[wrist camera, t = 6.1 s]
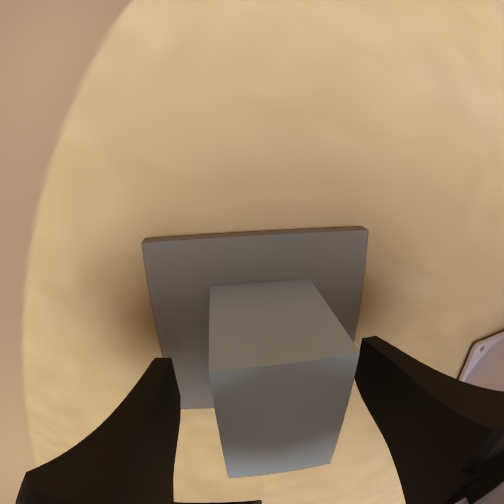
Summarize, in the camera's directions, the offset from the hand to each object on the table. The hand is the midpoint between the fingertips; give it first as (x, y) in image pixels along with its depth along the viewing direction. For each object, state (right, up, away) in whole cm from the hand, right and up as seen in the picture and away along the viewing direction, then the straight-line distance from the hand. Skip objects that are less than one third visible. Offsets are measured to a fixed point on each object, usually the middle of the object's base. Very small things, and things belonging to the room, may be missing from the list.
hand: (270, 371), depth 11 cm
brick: (0, 0, +2) cm, 2 cm away
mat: (0, +1, +3) cm, 3 cm away
